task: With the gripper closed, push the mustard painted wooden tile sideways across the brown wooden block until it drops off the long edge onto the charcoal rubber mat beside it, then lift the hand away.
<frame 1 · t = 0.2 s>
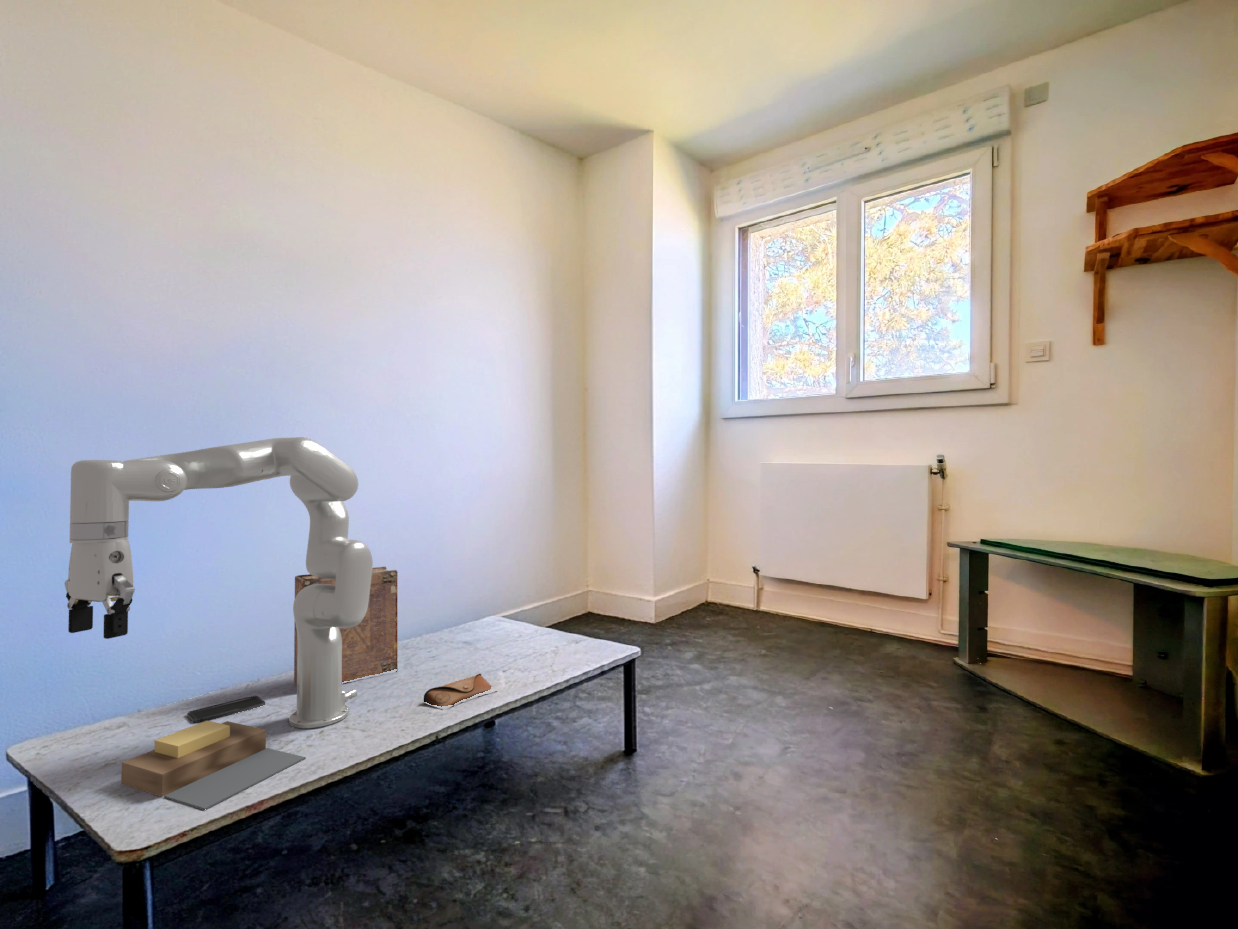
hand: (97, 633, 100), 31 cm above the table, tool pointing down, fingers open, 9 cm apart
book: (347, 678, 168), on the table
sunglasses case: (462, 699, 154), on the table
brown wooden block: (197, 765, 117), on the table
tile: (193, 743, 118), point 4 cm above the table, touching brown wooden block
mat: (239, 776, 113), on the table
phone: (227, 712, 145), on the table
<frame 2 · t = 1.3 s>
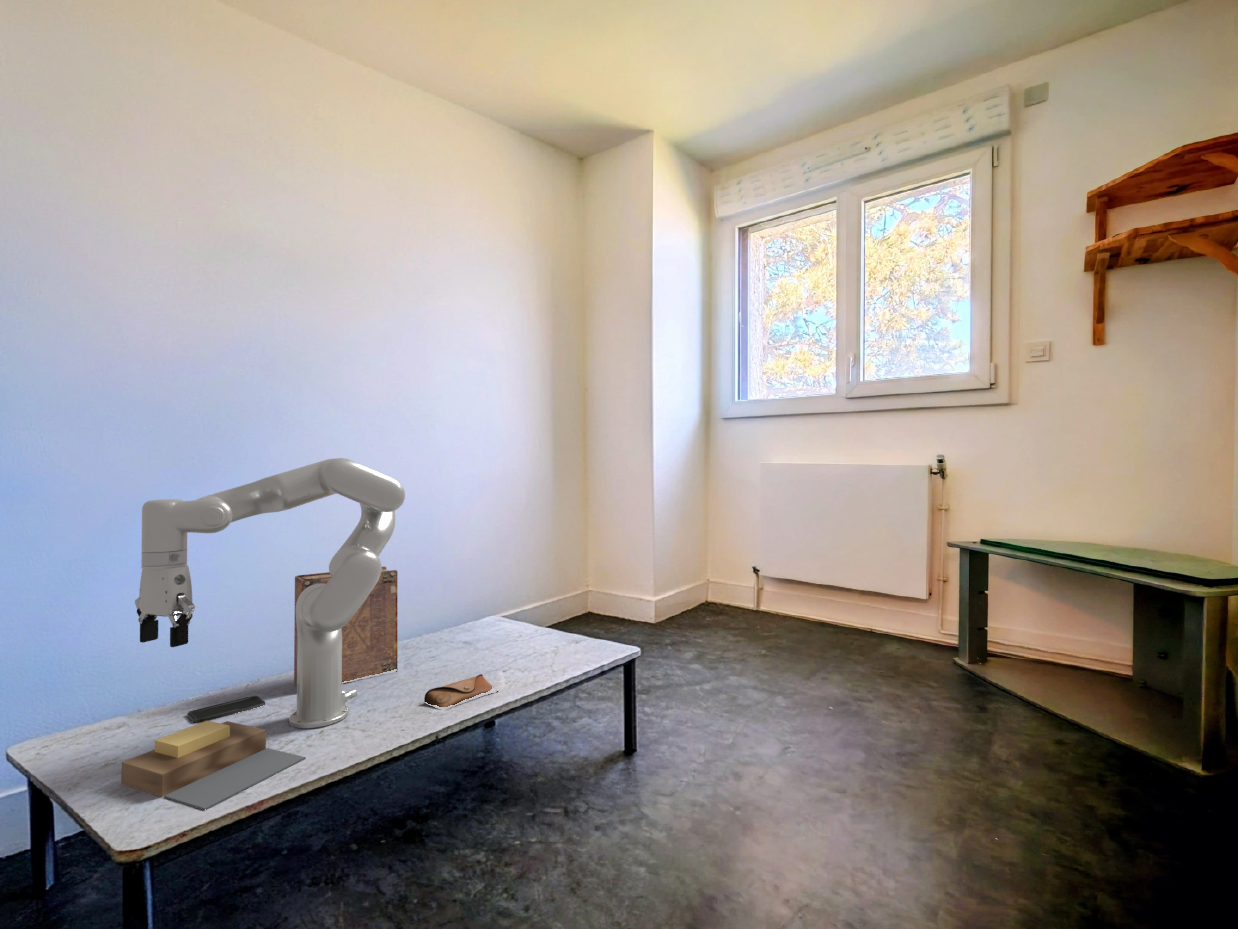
hand: (163, 643, 121), 23 cm above the table, tool pointing down, fingers open, 9 cm apart
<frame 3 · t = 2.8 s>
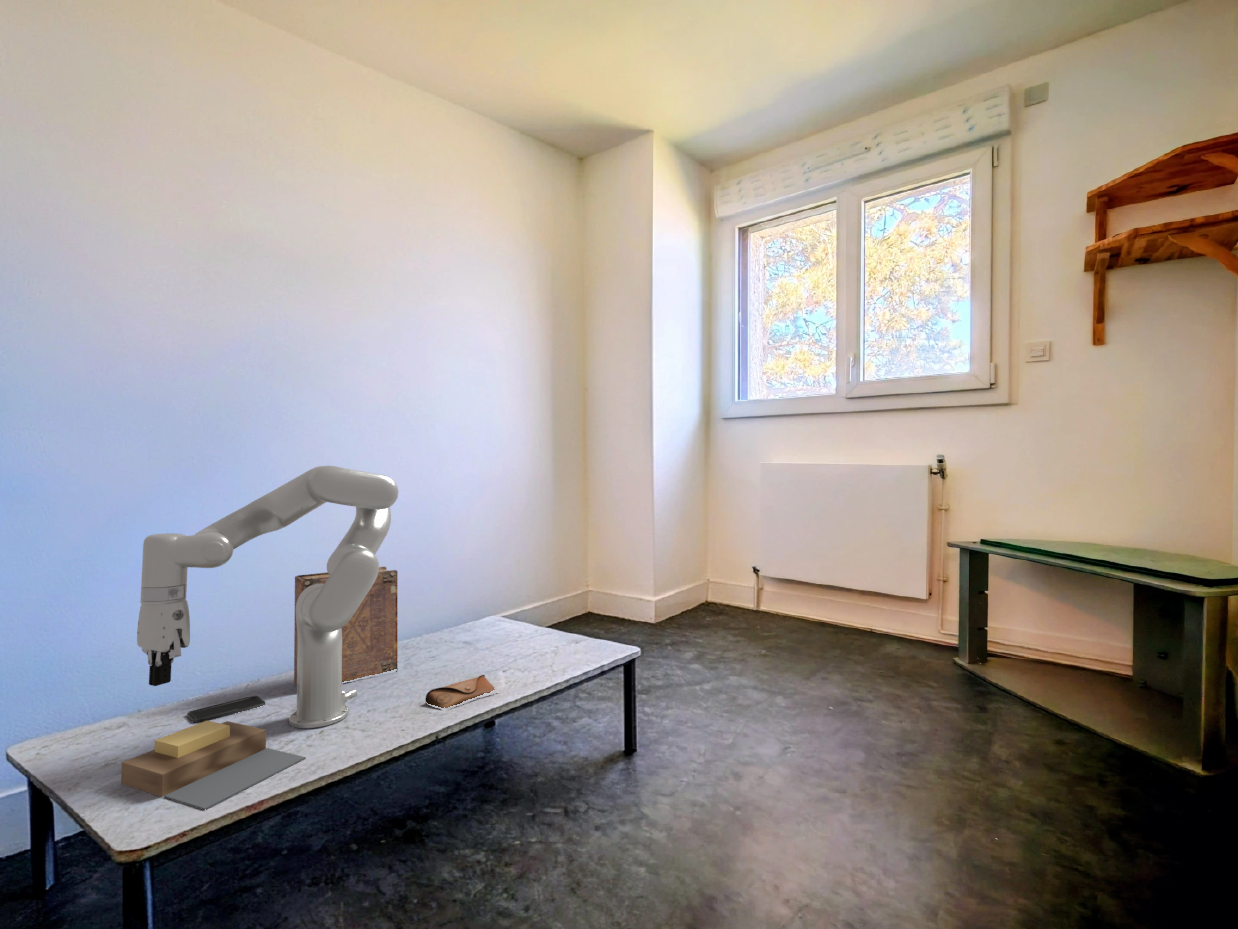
hand: (159, 683, 121), 15 cm above the table, tool pointing down, fingers closed
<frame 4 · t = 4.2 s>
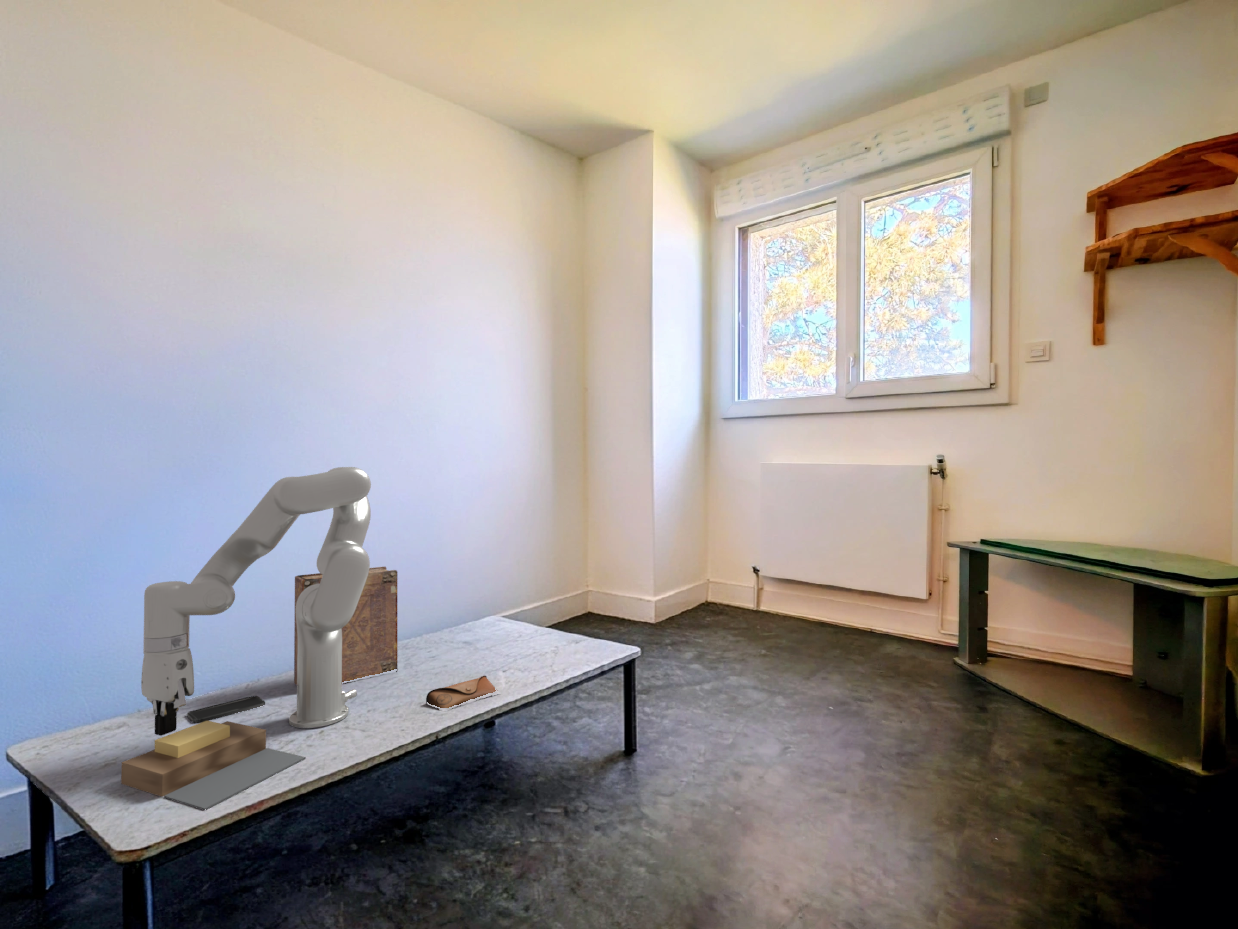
hand: (165, 732, 121), 5 cm above the table, tool pointing down, fingers closed
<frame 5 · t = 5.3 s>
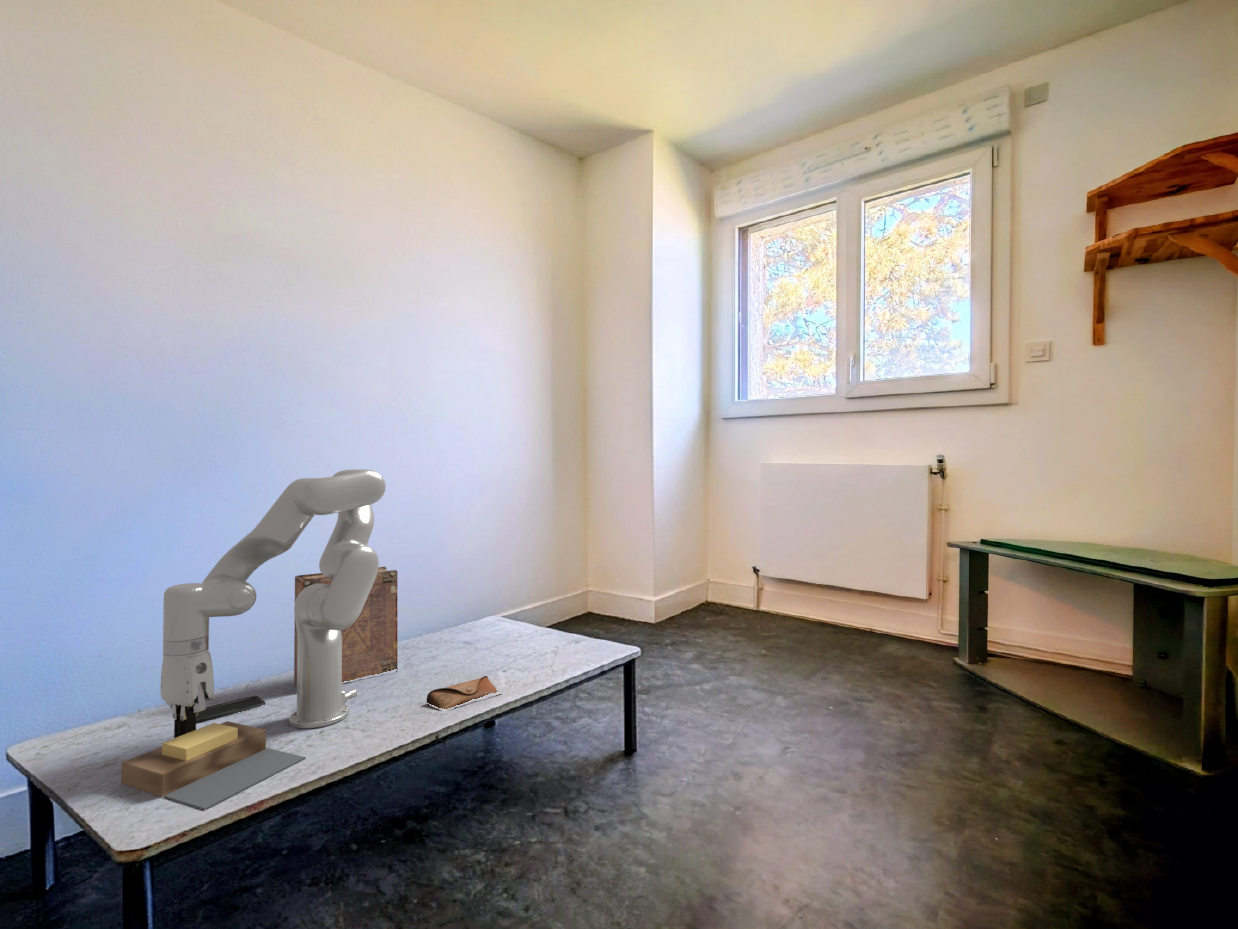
hand: (185, 737, 119), 5 cm above the table, tool pointing down, fingers closed
tile: (200, 746, 117), point 4 cm above the table, touching brown wooden block, gripper
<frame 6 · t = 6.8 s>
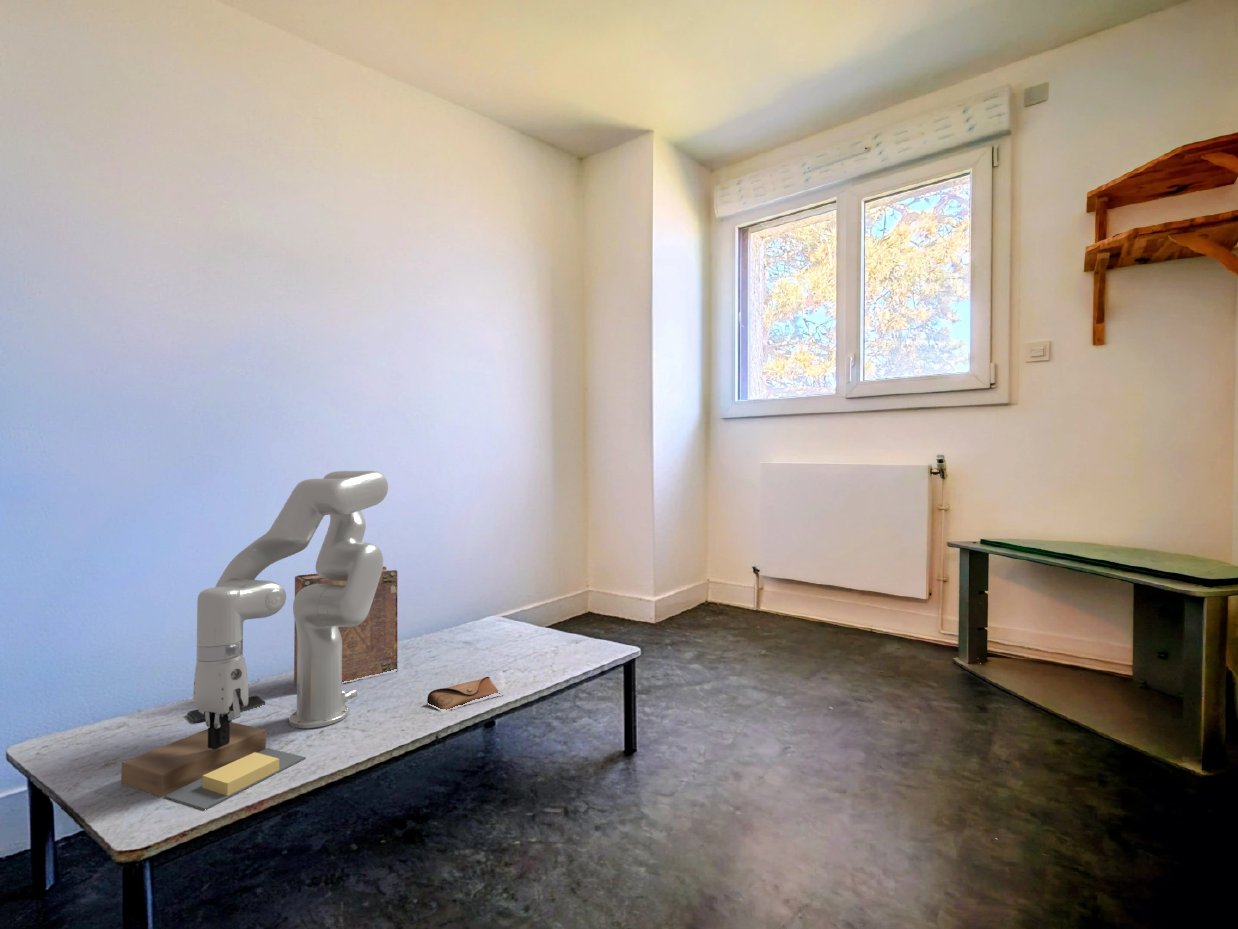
hand: (218, 745, 115), 5 cm above the table, tool pointing down, fingers closed
tile: (242, 767, 111), point 2 cm above the table, tilted 180°, touching mat
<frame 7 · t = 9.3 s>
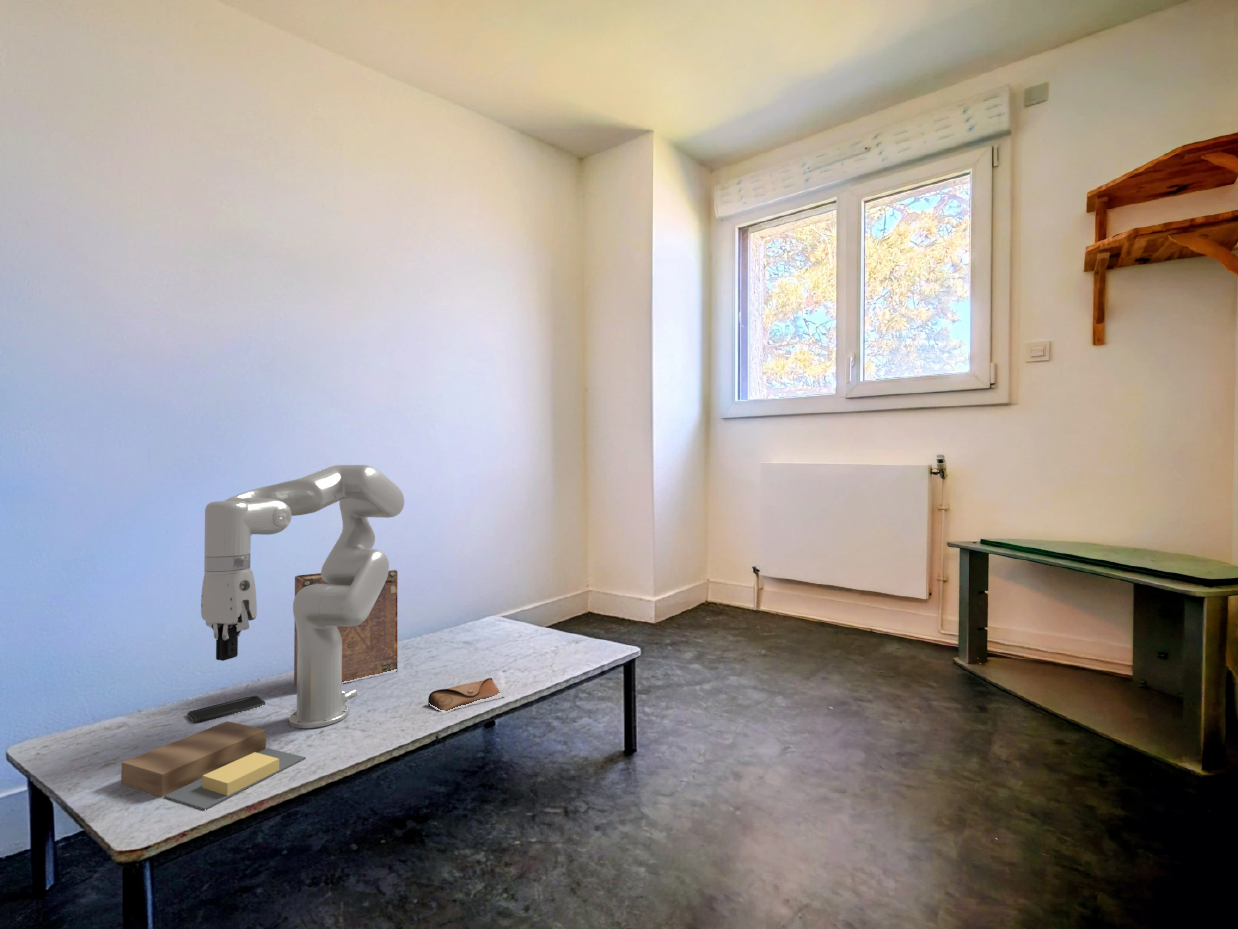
hand: (226, 658, 115), 22 cm above the table, tool pointing down, fingers closed
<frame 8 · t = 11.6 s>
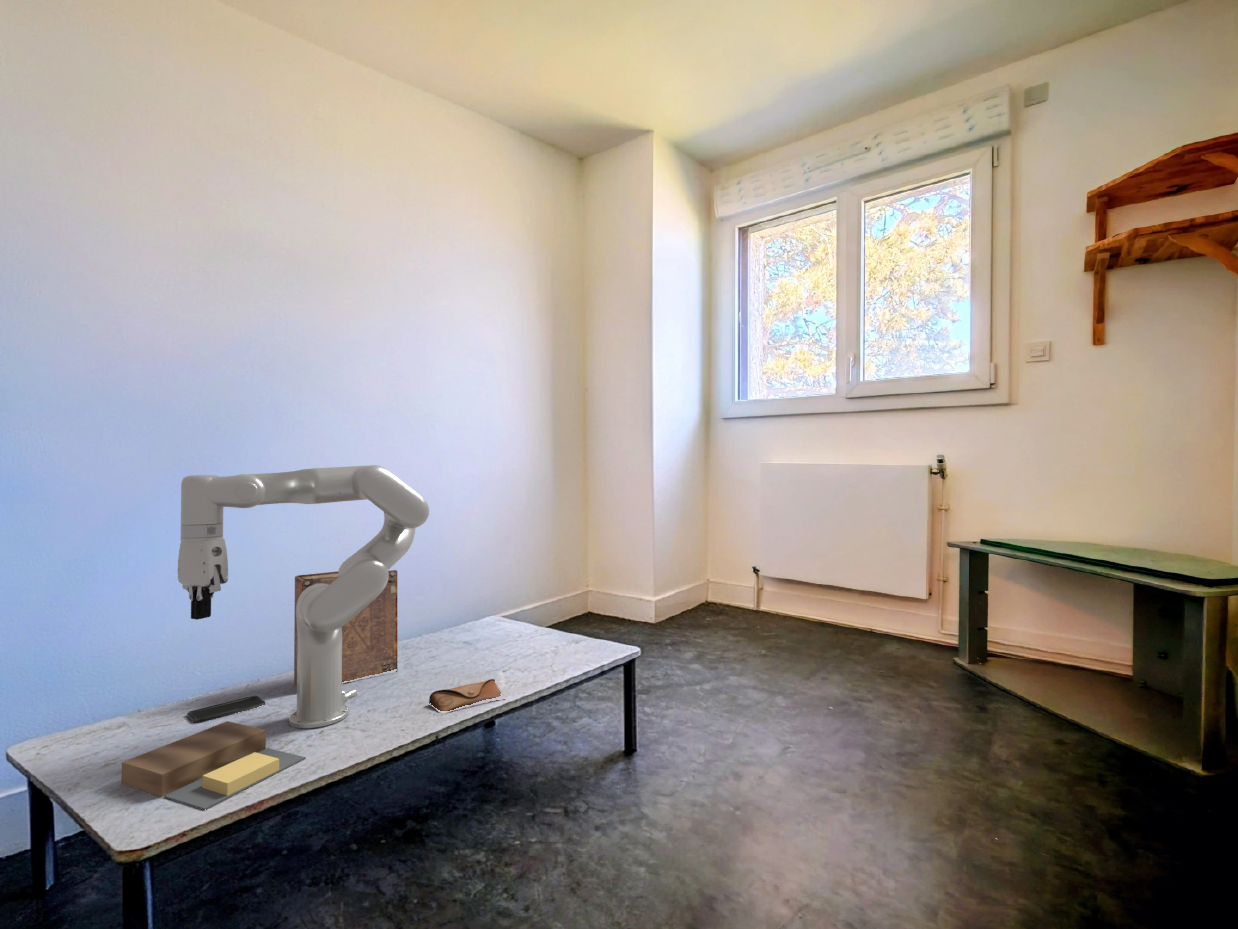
hand: (200, 617, 127), 27 cm above the table, tool pointing down, fingers closed
at the end: tile inside the target area on the mat (1.8 cm from its centre), point 2.5 cm above the mat's base; tile touching mat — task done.
